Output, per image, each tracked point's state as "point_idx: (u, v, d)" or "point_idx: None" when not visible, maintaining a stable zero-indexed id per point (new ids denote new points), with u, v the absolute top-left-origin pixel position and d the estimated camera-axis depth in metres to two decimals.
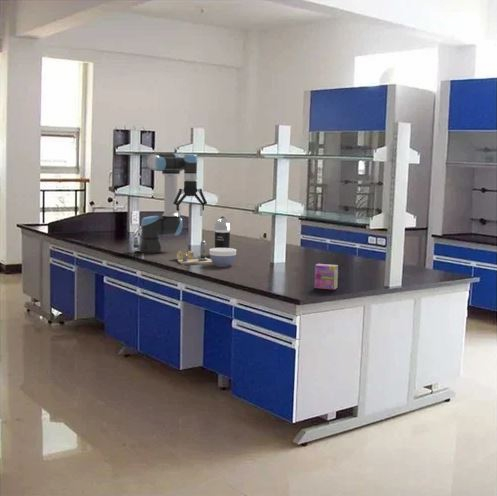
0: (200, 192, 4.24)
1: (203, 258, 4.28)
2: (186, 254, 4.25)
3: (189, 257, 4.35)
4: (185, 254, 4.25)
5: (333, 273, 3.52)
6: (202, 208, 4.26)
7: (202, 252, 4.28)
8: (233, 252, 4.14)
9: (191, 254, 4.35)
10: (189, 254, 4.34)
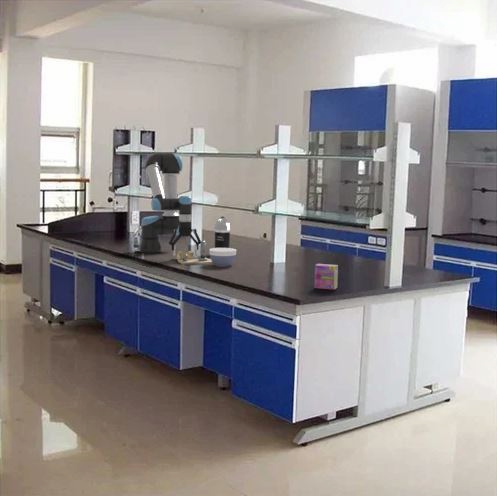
0: (195, 232, 4.37)
1: (203, 258, 4.28)
2: (186, 254, 4.25)
3: (189, 257, 4.35)
4: (185, 254, 4.25)
5: (333, 273, 3.52)
6: (197, 247, 4.39)
7: (202, 252, 4.28)
8: (233, 252, 4.14)
9: (191, 254, 4.35)
10: (189, 254, 4.34)
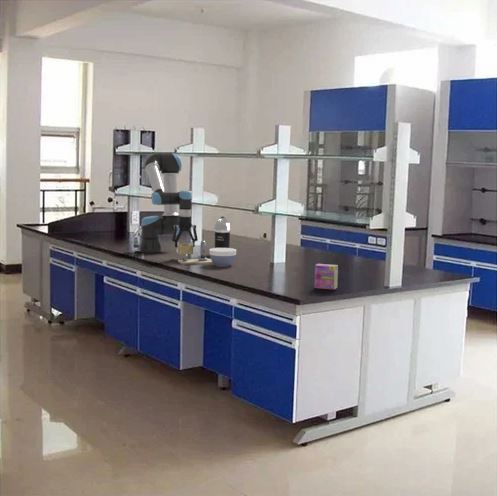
0: (194, 228, 4.37)
1: (203, 258, 4.28)
2: (186, 254, 4.25)
3: (189, 250, 4.35)
4: (185, 254, 4.25)
5: (333, 273, 3.52)
6: (193, 245, 4.39)
7: (202, 252, 4.28)
8: (233, 252, 4.14)
9: (191, 247, 4.35)
10: (189, 247, 4.34)
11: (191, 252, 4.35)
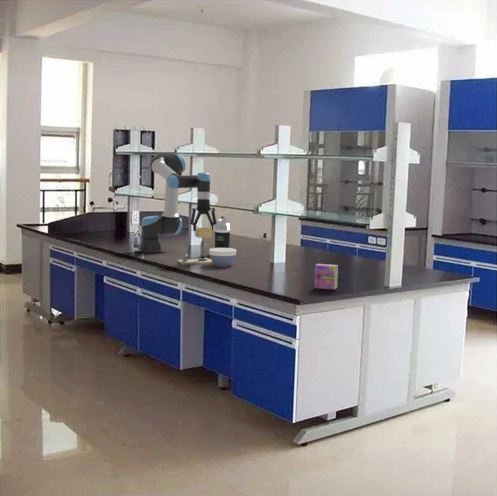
0: (212, 211, 4.26)
1: (203, 258, 4.28)
2: (186, 254, 4.25)
3: (208, 234, 4.24)
4: (185, 254, 4.25)
5: (333, 273, 3.52)
6: (211, 228, 4.28)
7: (202, 252, 4.28)
8: (233, 252, 4.14)
9: (210, 230, 4.24)
10: (208, 230, 4.24)
11: (210, 235, 4.25)
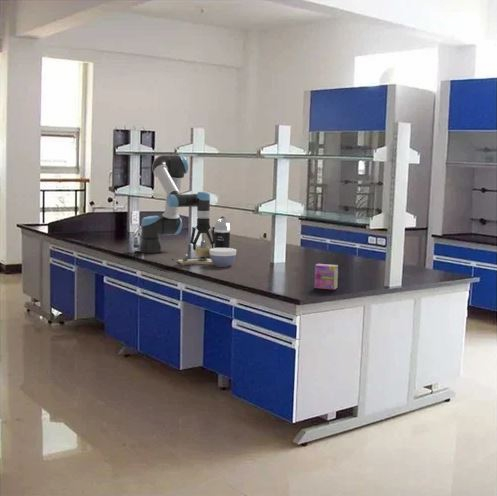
0: (212, 230, 4.28)
1: (203, 258, 4.28)
2: (186, 254, 4.25)
3: (207, 252, 4.25)
4: (185, 254, 4.25)
5: (333, 273, 3.52)
6: None
7: None
8: (233, 252, 4.14)
9: (209, 249, 4.26)
10: (207, 249, 4.25)
11: None
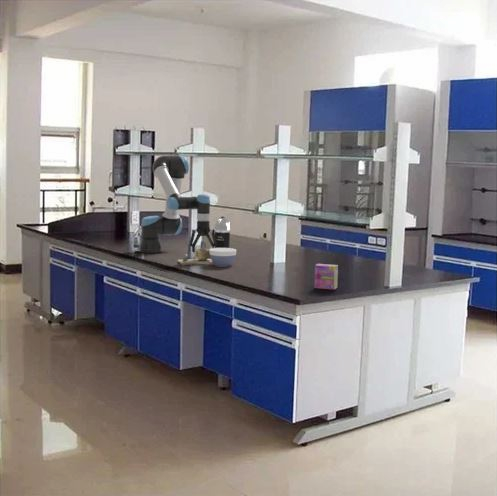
0: (212, 232, 4.28)
1: None
2: (186, 254, 4.25)
3: (207, 255, 4.26)
4: (185, 254, 4.25)
5: (333, 273, 3.52)
6: None
7: None
8: (233, 252, 4.14)
9: (209, 252, 4.26)
10: (207, 252, 4.25)
11: None
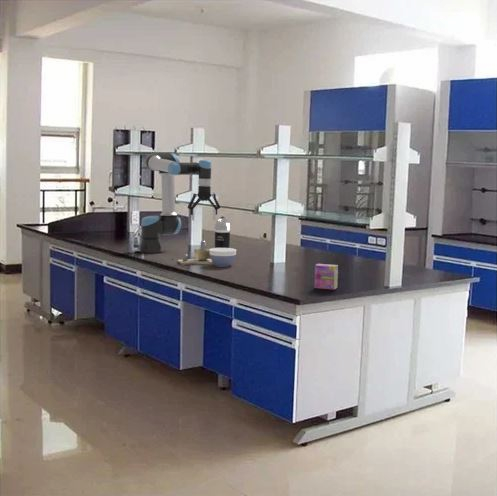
0: (214, 197, 4.35)
1: None
2: (186, 254, 4.25)
3: (207, 255, 4.26)
4: (185, 254, 4.25)
5: (333, 273, 3.52)
6: None
7: None
8: (233, 252, 4.14)
9: (209, 252, 4.26)
10: (207, 252, 4.25)
11: None
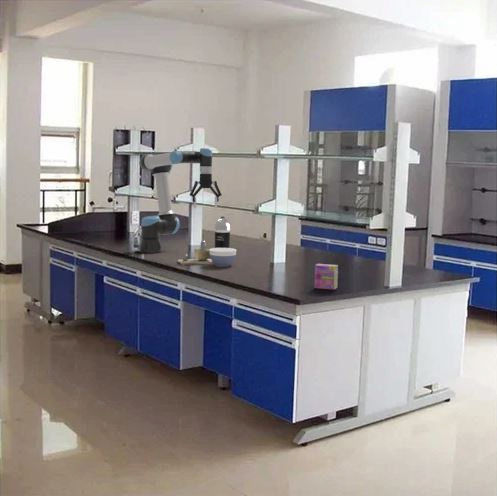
0: (215, 184, 4.44)
1: None
2: (186, 254, 4.25)
3: (207, 255, 4.26)
4: (185, 254, 4.25)
5: (333, 273, 3.52)
6: (217, 199, 4.47)
7: None
8: (233, 252, 4.14)
9: (209, 252, 4.26)
10: (207, 252, 4.25)
11: None
